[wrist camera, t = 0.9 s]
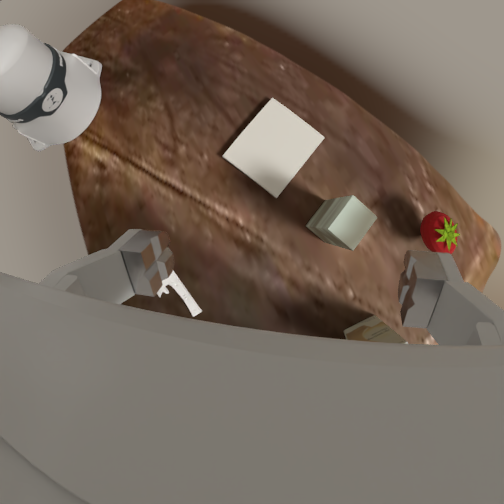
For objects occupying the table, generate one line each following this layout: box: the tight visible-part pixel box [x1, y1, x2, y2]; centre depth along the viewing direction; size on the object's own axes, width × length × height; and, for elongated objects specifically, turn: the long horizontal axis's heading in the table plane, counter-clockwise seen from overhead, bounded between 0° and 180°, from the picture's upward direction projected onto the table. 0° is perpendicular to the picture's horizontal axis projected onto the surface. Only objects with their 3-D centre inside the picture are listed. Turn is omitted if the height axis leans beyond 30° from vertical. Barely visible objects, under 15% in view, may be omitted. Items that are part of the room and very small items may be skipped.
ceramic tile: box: [222, 98, 325, 198], centre depth 44 cm, size 10×12×1 cm
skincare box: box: [344, 315, 408, 344], centre depth 43 cm, size 6×4×12 cm
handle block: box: [306, 195, 377, 251], centre depth 40 cm, size 4×5×12 cm
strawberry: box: [420, 211, 460, 254], centre depth 42 cm, size 6×8×10 cm
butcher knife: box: [157, 271, 202, 317], centre depth 46 cm, size 5×15×1 cm, turn 33°
